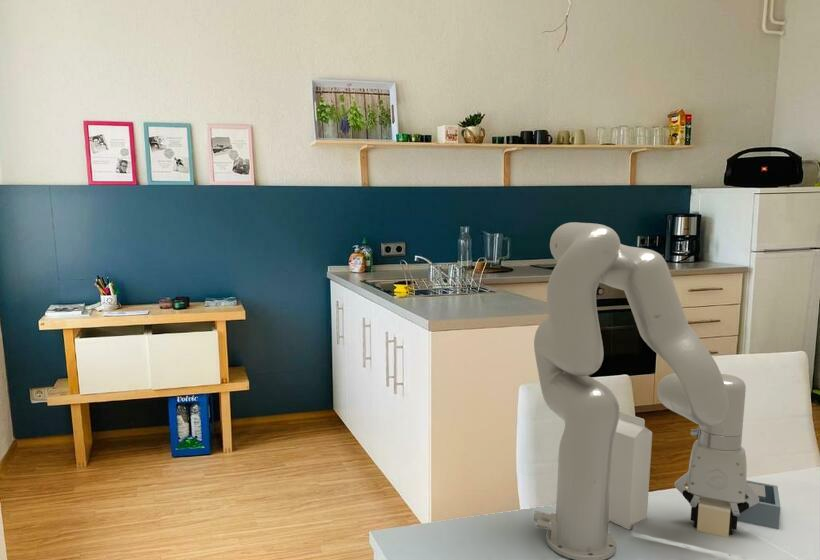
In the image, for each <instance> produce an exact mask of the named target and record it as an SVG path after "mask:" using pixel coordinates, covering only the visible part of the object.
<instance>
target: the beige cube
mask: <svg viewBox="0 0 820 560" xmlns="http://www.w3.org/2000/svg"><path fill="white" fill-rule="evenodd" d="M730 510H731V506H730V502H725V501H720V500H715V499H710V498H705V497H701V498H700V500H699V508H698V522H697V527H696V531H698V532H702V533H706V534H711V535H715V536H720V537H725V538H729V523H730Z"/></svg>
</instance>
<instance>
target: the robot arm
mask: <svg viewBox="0 0 820 560" xmlns="http://www.w3.org/2000/svg"><path fill="white" fill-rule="evenodd" d="M550 236H551V237H550V240H549V241H550V242H549V249H550V253H551V255H552V257H553V258H554V260H555V261H556V262H557V263H556V265H555V267H554V268H553V269H552V272H551V274H550V276H549V279H548V282H547V288H546V303H547V304H546V305H547V311H548V312H547V313H548V317H547V318H545V319H544V320H543V321H541V323H539V325H538V327H537V329H536V331H535V334H534V340H533V349H534V356H535V362H536V367H537V372H538V373H537V374H538V378H539V383H540V384H539V385H540V390H541V394H542V397H543V400H544V402H545V404H546V406H547V407H548V408H549V409H550V410H551V411H552V412H553V413H554V414H555V415H557V416H558V417H560V418H561V420H563V421H564V428H563V432H562V435H561V439H560V441H559V446H558V456H557V457H558V458H557V459H558V460H557V464H558V465H557V480H556V481H557V485H556V503H555V504H556V507H555V509H556V510H555V513H553V512H551V513H550V514H549V513H545V512H543V511H540V510H539V511H538V510H535V511H534V513H533V521H534V522H536V524H535V525H536V527H538V528H542V529H548V530H547V532H546V538H545V539H546V543H547V545H548V546H549V548H550V549H552V551H554V552H556V553H557V554H559V555H561V556H562V557H565V558H568V559H571V560H607V559H609V558H611V557H612V556H613V555H614V554H615V553H616V551H617V550H616V548H617V542H616V540H615V538H614V537H613V536H612V535H611V533H609V520H608V519H609V502H610V484H611V464H612V450H613V442H614V437H615V433H616V429H617V425H618V421H619V414H620V412H621V411H620V405H619V401H618V399H617V397H616V396H615V394H614V393H613V391H612V390H611V389H609V388H608V386H607V385H605V384H603V383H602V382H600V381H598V380H597V379H595V378H593V377H591V376H592V375H593V374H594V373H596V372H597V371H599V369H600V368H601V366H602V363H603V361H604V345H603V344H604V343H603V339H602V333H601V327H600V321H599V314H598V307H597V290H598V287H599V285H600V284H603V285H606V286H608V287H610V288H614V289H617V290H621V291H623V292H624V294H625V297H626V299H627V302H628V304H629V308H630V309H631V313H632V315H633V318H634V322H635V324H636V327H637V330H638V332H639V335H640V337H641V338H642V340H643V341H644V342H645V343H646V345H647V346H648V347H649V348H650V349H651V350H652V351H653V352H655V353H656V355H658V356H659V357H660V358H661V359H663V361H664V362H665V363H667V366H669V367H670V368H671V370H672V371H673V373H669V374H667V375H665V376H664V377H663V378H661V379H660V381H659V382H658V384H657V385H656V386H657V387H656V394H657V395H656V396H657V398H658V400H659V402H660V403H661V404H662V405H663V406H664V407H665V408H666V409H668V410H670V411H671V412H673V413H676V414H678V415H679V416H682V417H684V418H686V419H687V420H689V421H691V422H693V423H695V424H697V425H698V427H697V428H690V436H693V437H695V438H696V440H694V442H693V445H692V447H691V451H690V457H689V465H688V471H686V473H684V474H682V476H680V477H679V478H677V480H676V481H674V484H673V486H674V488H675V489H676V490H677V491H678V492H679V493H680V494H681V495H682V496H683V497H684V499H685V500H686V501H687V502H688V504H689V505H690V507H691V509H690V521H692V522H693V528H697V522H698V508H699V500H700V498H701V497H705V498H710V499H715V500H720V501H725V502H730V506H731V510H730V523H729V535H730V536H733V531H734V530H735V531H737V527H738V521H737V518H738V516H739V515H740V513H742V512H743V511H745V510H747V509H748V508H749V507H751V506H753V505H755V504H757V503H759V497H758V496H757V494H756V493H755V492H754V491H753V489H752V488H751V487H750V486H749V484H748V483H747V482H746V480H747V476H748V475H747V472H748V471H747V469H748V468H747V465H748V464H747V463H748V462H747V455H746V450H745V448H744V447H743V446H742V442H743V441H742V440H743V427H744V418H745V417H744V415H745V404H746V391H747V390H746V383H745V381H744V380H743V379H741V378H740V377H738V376H736V375H733V374H732V375H731V374H725V373H721V370H720V369H719V366H718V364H717V362H716V361H715V359H714V357H713V356H712V354H711V353H710V351H709V350H708V348H707V347H706V346H705V344H704V342H702V341H701V338H700V337H699V335H697V333H696V332H695V331H694V330H693V328H692V327H691V326H690V323H689V322H688V320H687V318H686V315H685V313H684V310H683V306H682V304H681V301H680V298H679V295H678V292H677V289H676V286H675V283H674V280H673V277H672V275H671V271H670V268H669V266H668V263H667V261H666V260H665V258H664V257H663V255H662V254H661V253H659V252H657V251H655V250H653V249H649V248H644V247H636V246H629V245H625V244H622V243H621V240H620V236H619V235H618V233H617V232H616V231H615V230H614V229H613V228H611V227H610V226H607V225H605V224H599V223H591V222H577V221H575V222H566V223H563V224H561V225H560V226H558V227H557V228H556V229H555V230H554V231H553V232H552V235H550ZM686 485H687V487H686ZM746 494H747V496H748V497H749V498H747V499H746V500H744V499H745V495H746Z"/></svg>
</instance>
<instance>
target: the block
mask: <svg viewBox="0 0 820 560" xmlns="http://www.w3.org/2000/svg"><path fill="white" fill-rule="evenodd" d="M747 483H748V482H747ZM748 484H749V486H750V487H751V488H752V489H753V491H754V492H755V493H756V494H757V496H758V497H759V502H764V503H765V499H766V495H765V486H764V485H758V484H753V483H748ZM747 498H749V497H748V496H747V494H746V495H745V499H747Z"/></svg>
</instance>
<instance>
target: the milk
mask: <svg viewBox="0 0 820 560" xmlns="http://www.w3.org/2000/svg"><path fill="white" fill-rule="evenodd" d="M645 422H646V421H645V419H644V418H641V417H638V416H635V415H632V414H629V413H626V412H623V411H620V414H619V421H618V425H617V429H616V433H615V437H614V442H613V450H612V464H611V484H610V502H609V519H608V522H611V523H612V524H615V525H617V526H620V527H622V528H623V529H624V528H625V529H626V530H628V531H629V530H630V531H631V530H632V529H633V527H634V525H635V524H636V523H639V522H640V521H643V520H645V519H646V518H648V505H649V487H650V477H651V475H650V474H651V462H652V461H651V458H652V443H653V442H652V441H653V431H651V430H650V428H649V429H648V427H646V425H645V424H646V423H645Z"/></svg>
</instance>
